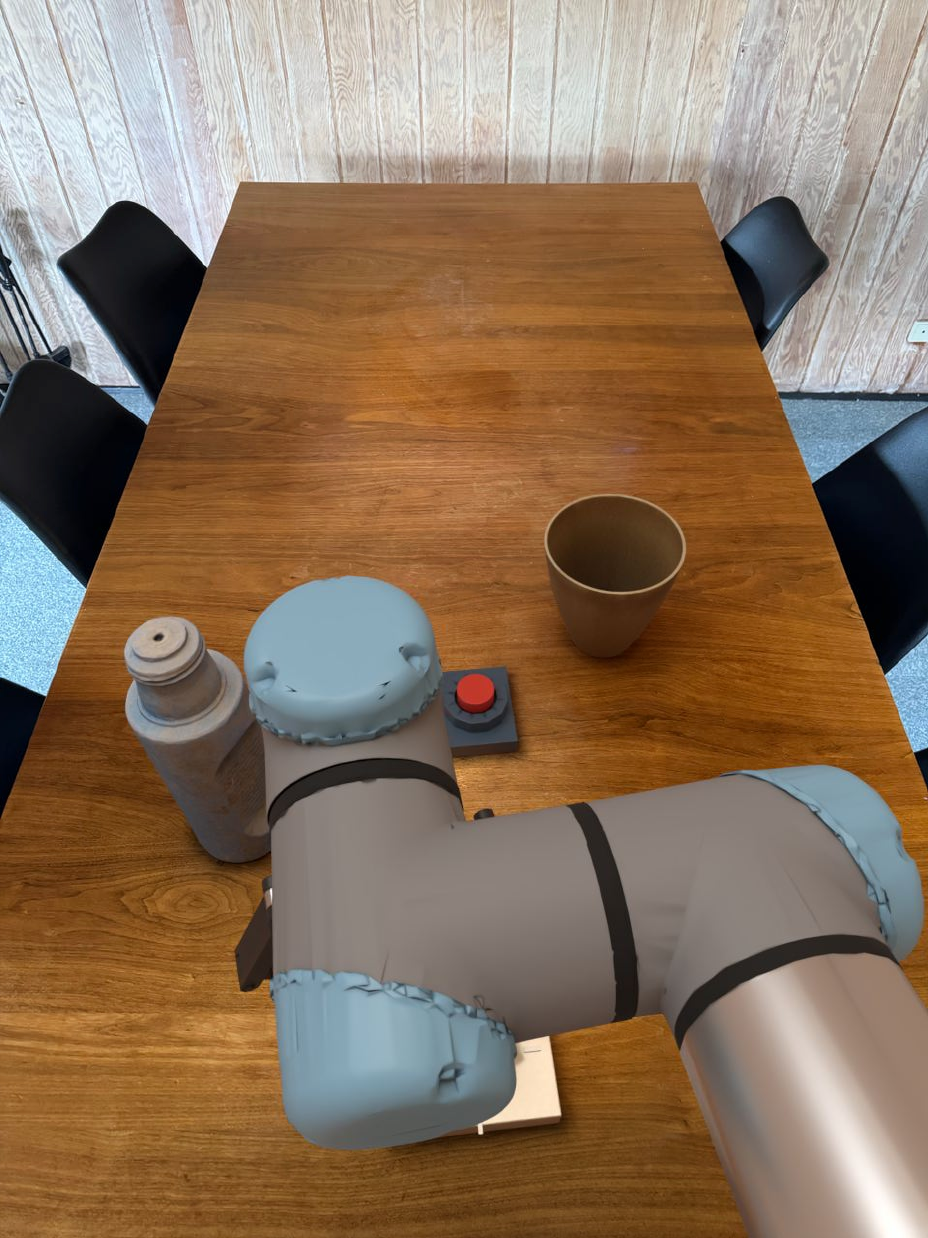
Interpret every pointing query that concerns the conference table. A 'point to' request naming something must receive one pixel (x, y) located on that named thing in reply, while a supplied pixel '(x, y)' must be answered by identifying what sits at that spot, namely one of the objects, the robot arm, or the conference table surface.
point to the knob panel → (527, 1091)
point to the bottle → (200, 735)
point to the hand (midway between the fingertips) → (405, 961)
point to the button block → (479, 716)
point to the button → (475, 693)
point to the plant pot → (611, 568)
